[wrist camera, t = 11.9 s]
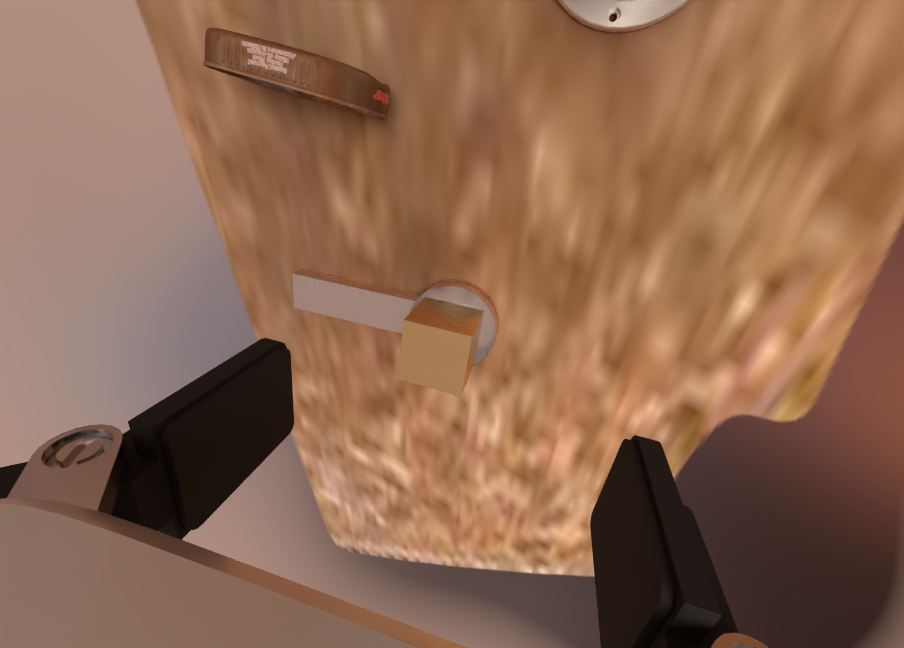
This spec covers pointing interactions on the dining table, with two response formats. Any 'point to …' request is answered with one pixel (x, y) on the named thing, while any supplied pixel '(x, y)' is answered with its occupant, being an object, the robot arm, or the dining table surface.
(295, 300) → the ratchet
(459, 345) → the tan wooden cube
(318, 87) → the tin
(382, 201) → the dining table surface
